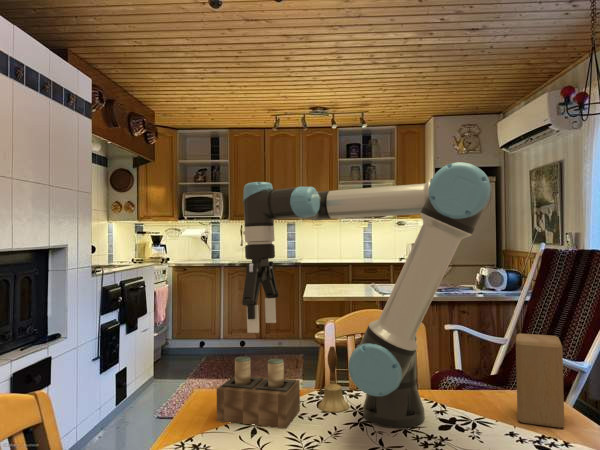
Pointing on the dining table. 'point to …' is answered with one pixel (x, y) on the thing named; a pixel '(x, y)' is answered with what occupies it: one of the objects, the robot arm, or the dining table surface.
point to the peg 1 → (242, 371)
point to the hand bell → (333, 389)
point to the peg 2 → (276, 373)
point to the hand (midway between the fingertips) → (262, 327)
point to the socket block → (258, 402)
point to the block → (539, 380)
